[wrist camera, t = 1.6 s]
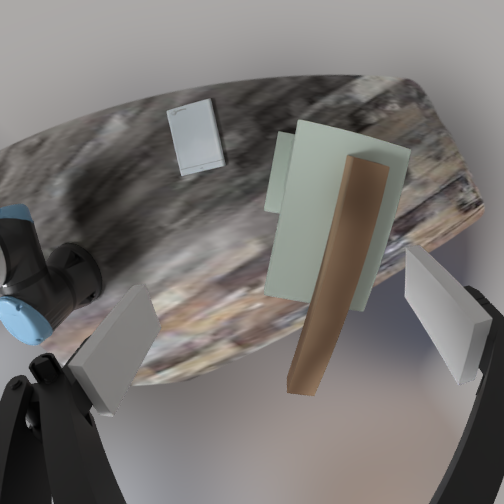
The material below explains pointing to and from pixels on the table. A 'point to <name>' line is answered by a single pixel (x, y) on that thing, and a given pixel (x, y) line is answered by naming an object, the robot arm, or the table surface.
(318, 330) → the walnut bar
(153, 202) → the table surface
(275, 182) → the sage stand
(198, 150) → the hard drive
